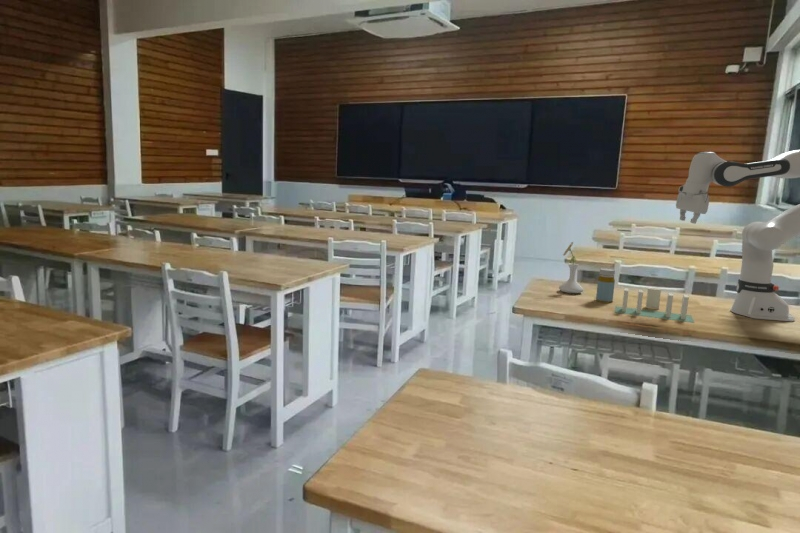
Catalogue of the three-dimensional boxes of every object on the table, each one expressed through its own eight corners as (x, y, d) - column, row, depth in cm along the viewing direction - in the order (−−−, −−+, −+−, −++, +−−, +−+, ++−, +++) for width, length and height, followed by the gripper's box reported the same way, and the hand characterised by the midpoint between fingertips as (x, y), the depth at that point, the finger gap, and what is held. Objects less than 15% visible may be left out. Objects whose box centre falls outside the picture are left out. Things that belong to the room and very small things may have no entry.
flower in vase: (565, 288, 263) (569, 238, 259) (587, 292, 256) (592, 241, 251) (552, 292, 254) (557, 240, 250) (574, 296, 246) (579, 243, 242)
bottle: (592, 300, 239) (595, 268, 237) (604, 299, 242) (607, 267, 240) (603, 304, 233) (607, 271, 231) (615, 303, 236) (619, 270, 233)
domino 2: (645, 308, 229) (647, 288, 228) (658, 309, 227) (660, 289, 226) (645, 309, 228) (648, 288, 226) (658, 310, 226) (660, 290, 224)
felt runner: (691, 316, 217) (691, 315, 217) (694, 324, 206) (694, 322, 206) (615, 307, 229) (615, 306, 228) (614, 313, 218) (614, 312, 218)
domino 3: (669, 314, 217) (672, 293, 216) (670, 317, 213) (673, 295, 211) (665, 314, 218) (668, 292, 216) (666, 317, 213) (668, 295, 212)
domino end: (626, 309, 224) (628, 288, 222) (626, 312, 219) (628, 290, 217) (622, 308, 224) (624, 288, 223) (621, 311, 220) (624, 290, 218)
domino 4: (684, 316, 215) (687, 295, 213) (685, 319, 211) (688, 297, 209) (680, 316, 216) (683, 294, 214) (681, 318, 211) (684, 297, 210)
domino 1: (640, 311, 221) (642, 290, 220) (640, 313, 217) (643, 292, 215) (636, 310, 222) (638, 289, 220) (636, 313, 218) (638, 292, 216)
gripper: (716, 192, 215) (707, 226, 218) (691, 189, 235) (683, 219, 238) (701, 190, 215) (692, 224, 218) (677, 187, 235) (669, 217, 238)
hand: (687, 221), depth 228 cm, fingers open, 8 cm apart
